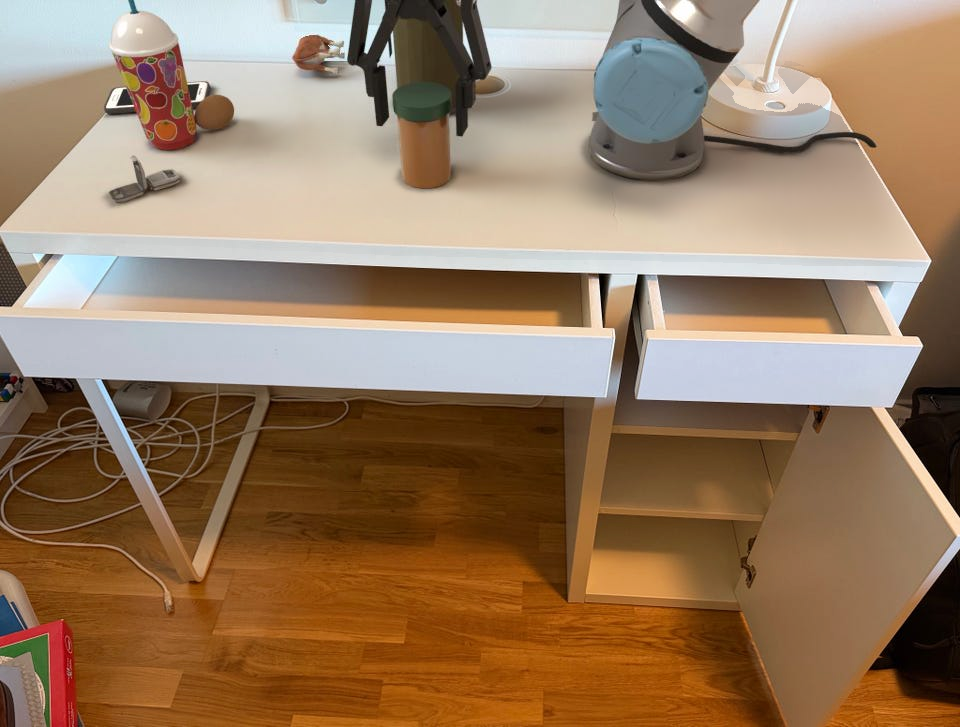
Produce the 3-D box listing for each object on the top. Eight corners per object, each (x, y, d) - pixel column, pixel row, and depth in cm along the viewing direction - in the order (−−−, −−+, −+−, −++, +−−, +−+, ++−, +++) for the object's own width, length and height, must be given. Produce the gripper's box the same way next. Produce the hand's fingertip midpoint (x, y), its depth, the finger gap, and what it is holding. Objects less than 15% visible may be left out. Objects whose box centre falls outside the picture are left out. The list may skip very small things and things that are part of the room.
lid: (458, 99, 94) (458, 85, 92) (442, 124, 89) (442, 110, 87) (404, 93, 95) (403, 79, 94) (385, 118, 90) (384, 103, 89)
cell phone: (113, 93, 116) (111, 87, 116) (211, 86, 118) (209, 80, 118) (104, 115, 111) (101, 109, 110) (206, 107, 113) (205, 101, 112)
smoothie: (174, 122, 109) (129, -27, 96) (217, 134, 107) (177, -17, 93) (129, 146, 104) (75, -7, 90) (174, 160, 101) (125, 4, 87)
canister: (469, 88, 117) (467, -54, 103) (461, 118, 110) (458, -30, 96) (400, 85, 118) (389, -56, 104) (388, 115, 111) (374, -32, 97)
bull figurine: (347, 24, 126) (298, 18, 125) (337, 55, 116) (283, 48, 115) (347, 50, 129) (299, 44, 128) (337, 83, 119) (285, 77, 118)
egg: (219, 95, 109) (184, 116, 107) (222, 82, 105) (186, 104, 103) (239, 121, 110) (205, 142, 108) (243, 109, 106) (208, 131, 104)
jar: (456, 166, 100) (454, 89, 93) (443, 191, 95) (439, 112, 88) (411, 160, 101) (405, 84, 94) (395, 185, 97) (388, 106, 89)
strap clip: (174, 173, 99) (164, 143, 96) (182, 182, 97) (172, 152, 94) (109, 194, 95) (96, 164, 92) (116, 204, 93) (103, 173, 91)
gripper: (524, -78, 79) (516, 123, 94) (325, -93, 83) (349, 103, 98) (508, -58, 73) (502, 151, 89) (296, -75, 77) (326, 129, 93)
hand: (422, 126), depth 93 cm, fingers open, 10 cm apart
